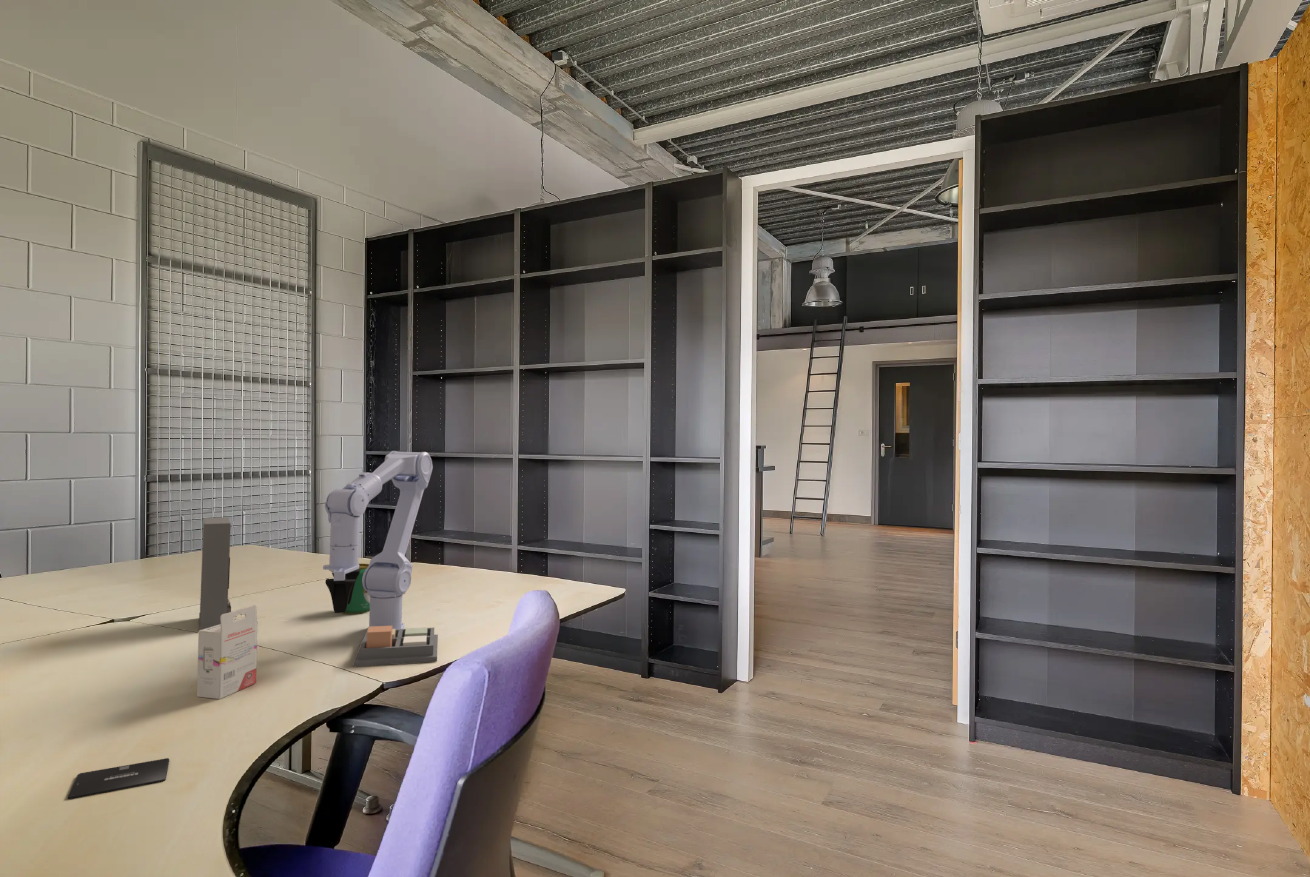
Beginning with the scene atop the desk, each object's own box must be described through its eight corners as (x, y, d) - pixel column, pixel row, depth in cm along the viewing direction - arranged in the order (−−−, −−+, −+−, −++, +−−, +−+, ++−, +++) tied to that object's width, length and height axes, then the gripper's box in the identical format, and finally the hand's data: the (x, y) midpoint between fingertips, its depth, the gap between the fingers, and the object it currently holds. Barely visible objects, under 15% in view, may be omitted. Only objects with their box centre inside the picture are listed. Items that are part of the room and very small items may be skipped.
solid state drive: (77, 778, 91) (77, 773, 91) (169, 762, 96) (169, 757, 96) (66, 803, 85) (66, 797, 85) (165, 784, 90) (165, 779, 90)
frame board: (363, 642, 154) (363, 627, 154) (437, 638, 158) (438, 623, 158) (353, 666, 137) (354, 649, 137) (436, 661, 142) (437, 644, 142)
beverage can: (364, 615, 178) (366, 568, 178) (334, 614, 178) (335, 567, 178) (377, 607, 186) (378, 563, 186) (348, 606, 186) (349, 562, 186)
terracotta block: (368, 650, 145) (369, 626, 145) (391, 648, 146) (392, 625, 146) (366, 656, 141) (366, 632, 141) (389, 655, 142) (390, 631, 142)
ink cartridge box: (234, 680, 128) (237, 602, 128) (257, 683, 127) (259, 604, 127) (194, 697, 119) (197, 612, 119) (218, 700, 118) (222, 615, 118)
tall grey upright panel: (230, 628, 162) (234, 523, 162) (199, 631, 158) (203, 524, 159) (228, 615, 173) (231, 517, 174) (199, 618, 170) (202, 517, 170)
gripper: (329, 540, 153) (327, 601, 152) (318, 550, 139) (316, 617, 139) (363, 539, 155) (361, 599, 155) (356, 549, 141) (353, 615, 141)
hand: (342, 608), depth 147 cm, fingers open, 7 cm apart
